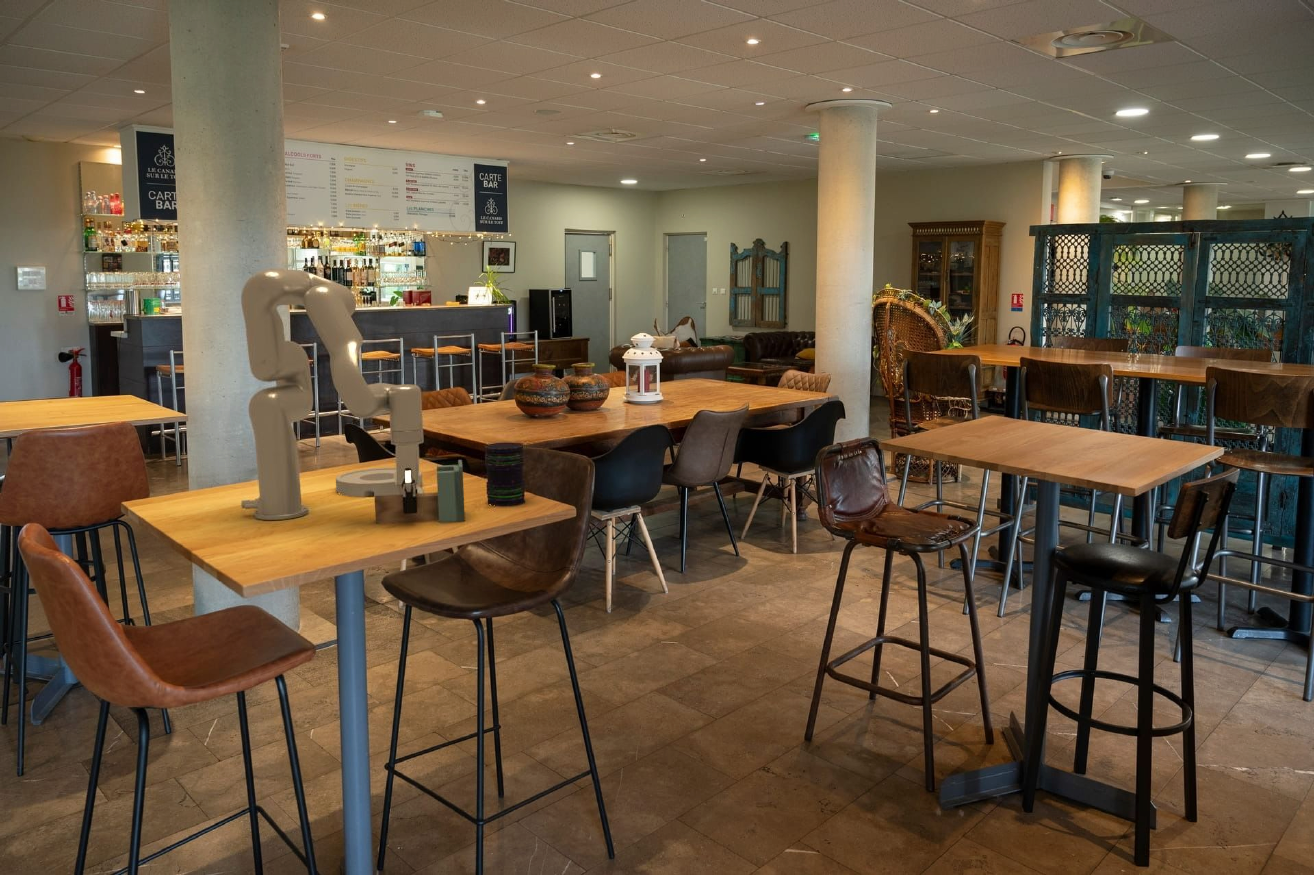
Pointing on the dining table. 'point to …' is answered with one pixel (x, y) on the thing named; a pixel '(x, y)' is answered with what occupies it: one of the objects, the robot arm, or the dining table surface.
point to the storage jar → (505, 474)
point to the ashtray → (369, 482)
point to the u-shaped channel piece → (450, 493)
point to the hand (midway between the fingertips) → (410, 508)
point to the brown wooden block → (392, 508)
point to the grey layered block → (400, 488)
